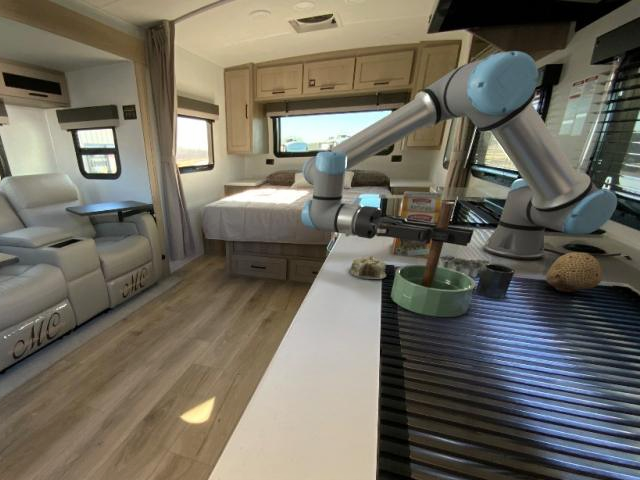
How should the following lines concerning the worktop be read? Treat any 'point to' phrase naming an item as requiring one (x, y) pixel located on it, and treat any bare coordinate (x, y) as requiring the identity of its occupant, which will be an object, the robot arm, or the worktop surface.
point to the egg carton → (463, 265)
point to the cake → (368, 268)
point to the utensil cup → (494, 281)
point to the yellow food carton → (421, 209)
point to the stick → (436, 245)
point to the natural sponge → (574, 272)
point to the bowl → (433, 291)
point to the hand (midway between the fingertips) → (469, 237)
